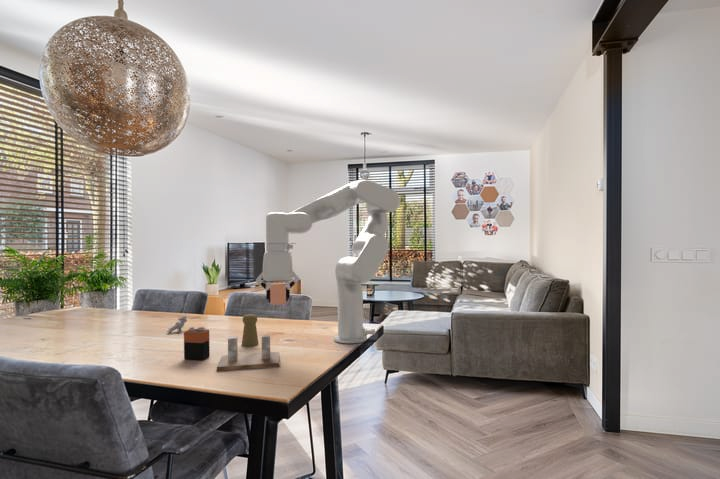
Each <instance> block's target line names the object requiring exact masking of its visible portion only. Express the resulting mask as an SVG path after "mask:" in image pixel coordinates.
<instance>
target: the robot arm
mask: <svg viewBox="0 0 720 479" xmlns="http://www.w3.org/2000/svg"><path fill="white" fill-rule="evenodd" d="M359 204H365V207H366V211H367V214H368V215H367V217H368V218H367V221H366V224H365V225H364V227H363V228H362V230H361V231H360V233H359V235H358V236H357V237H356V239H355V240H354V242H353V244H352V252H353V254H354V255H355V256H348V255H347V256H344V257H342V258H340V259H339V260H338V261H337V263H336V265H335V269H334V271H335V272H334V273H335V277H336V278H335V279H336V285H337V334H336V335H334V336H333V341H334V342H336V343H338V344H339V343H340V344H359V343H360V344H361V343H364V342H366V341H367V340H368V335H376V329H375V328H372V329H371V328H365V327H364V309H363V308H364V305H363V304H364V302H363V301H364V300H363V299H364V298H363V297H364V293H363V287H362V284H367V283H369V282H370V281H371V280H372V279H373V278H374V276H375V275H376V273H377V272H378V270H379V269H380V268H381V266H382V264H383V262H384V260H386V258H387V255H388V253H389V242H388V239H387V237H385V235H386V233H387V231H388V228H389V219H388V215H387V213H391V212H392V213H393V212H394V211H396V210H398V208H400V205H401V197H400V195H399V193H398V192H397V191H395V190H394V189H392V188H390V187H387V186H385V185H382V184H379V183H376V182H374V181H371V180H368V179H360V180H359V179H358V180H355V181H352V182H350V183H347V184H345V185H343V186H341V187H339V188H337V189H335V190H333V191H331V192H329V193H327V194H325V195H324V196H321V197H319V198H317V199H315V200H314V201H311V202H309V203H307V204H304V205H303V206H301V207H298V208H297V209H295V210H293V211H291V212H289V213H286V212H279V211H277V212H269V213H267V214H266V217H265V226H266V227H265V228H266V229H265V233H266V234H265V239H266V240H265V241H266V242H265V243H266V245H265V246H266V247H265V249H266V252H264V254H263V260H262V271H261V273H260V274H259V275H258V276H257V278H256V279H255V282H256V283H257V284H259V285H260V286H261V287H262V288H263V289H265V293H266V296H265V297H266V298H265V299H266V300H268V303H270V284H272V282H276V283H277V282H284V283H285V284H286V302H288V299H289V300H290V298H291V296H290V294H291V292H290V290H291V289H292V288H293V286H294V285H295V284H296V283H298V282H299V281H300V277H299V276H298V275H297V274H296V273H295V271H294V269H293V260H292V259H293V256H292V253H291V252H289V250H291V249H292V250H293V249H294V246H293V244H290V243H289V242H290V240H289V239H290V238H289V234H291V235H293V234H294V235H295V234H296V235H298V234H299V235H301V234H305V233H307V232H309V231H310V230H311V229H312V226H313V224H315V223H319V222H320V221H324V220H329V219H331V218H333V217H337V216H339V215H340V214H342V213H343V212H346V211H347V210H349V209H351V208H354V206H356V205H359ZM293 278H294V279H293ZM290 281H291V282H290ZM265 282H266V283H265Z"/></svg>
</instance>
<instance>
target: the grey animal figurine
mask: <svg viewBox="0 0 720 479" xmlns="http://www.w3.org/2000/svg"><path fill="white" fill-rule="evenodd" d="M187 322H188V319H187V316H181V317H180V316H179V317H178V321H177V322H176V323H174V325H173V326H171V327H169V328H168V330H167V331H166V332H167V333H168V334H171V333H172V332H174V331H176V330H180V333H181V332H182V328H184V326H185V324H186V323H187Z"/></svg>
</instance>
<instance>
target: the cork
mask: <svg viewBox="0 0 720 479" xmlns="http://www.w3.org/2000/svg"><path fill="white" fill-rule="evenodd" d="M257 322H258V316H257V314H253V313H248V314H244V315H243V317H242V323H243V332H242V340H241V346H242V347H245V348H246V347H248V348H249V347H256V346H258V345H259V337H258V329H257V324H256V323H257Z"/></svg>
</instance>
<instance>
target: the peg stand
mask: <svg viewBox="0 0 720 479" xmlns="http://www.w3.org/2000/svg"><path fill="white" fill-rule="evenodd" d="M238 345H239V344H238V336H236V335H235V336H228V337H227V354H224V355H221V356H220V359H219V360H218V363H217V366H216V372H222V371H223V372H224V371H236V370H237V371H238V370H252V369H264V368H265V369H266V368H267V369H268V368H280V352H279V351H274V352H271V334H261V352H257V353H243V354H242V353H241V354H238V352H239V351H238V348H239V346H238Z"/></svg>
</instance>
